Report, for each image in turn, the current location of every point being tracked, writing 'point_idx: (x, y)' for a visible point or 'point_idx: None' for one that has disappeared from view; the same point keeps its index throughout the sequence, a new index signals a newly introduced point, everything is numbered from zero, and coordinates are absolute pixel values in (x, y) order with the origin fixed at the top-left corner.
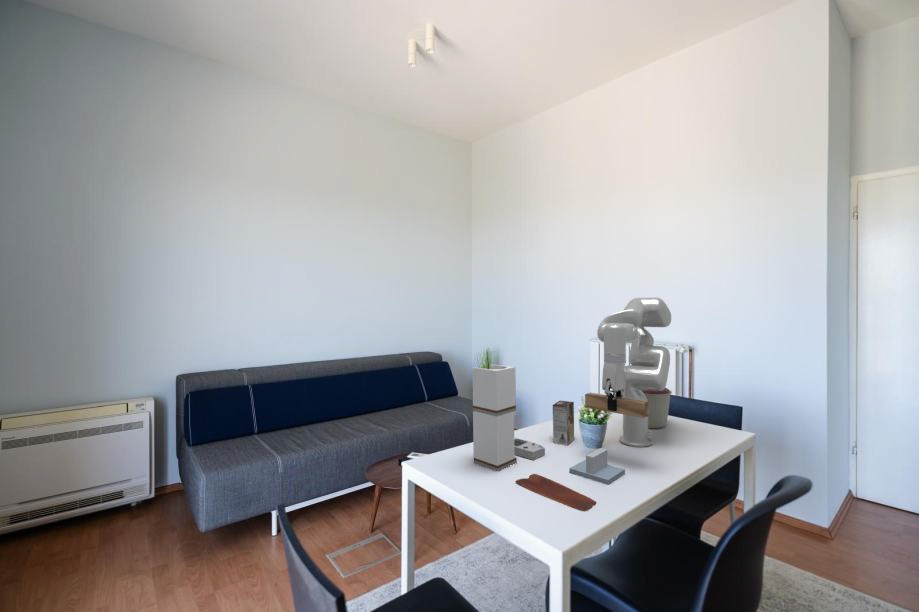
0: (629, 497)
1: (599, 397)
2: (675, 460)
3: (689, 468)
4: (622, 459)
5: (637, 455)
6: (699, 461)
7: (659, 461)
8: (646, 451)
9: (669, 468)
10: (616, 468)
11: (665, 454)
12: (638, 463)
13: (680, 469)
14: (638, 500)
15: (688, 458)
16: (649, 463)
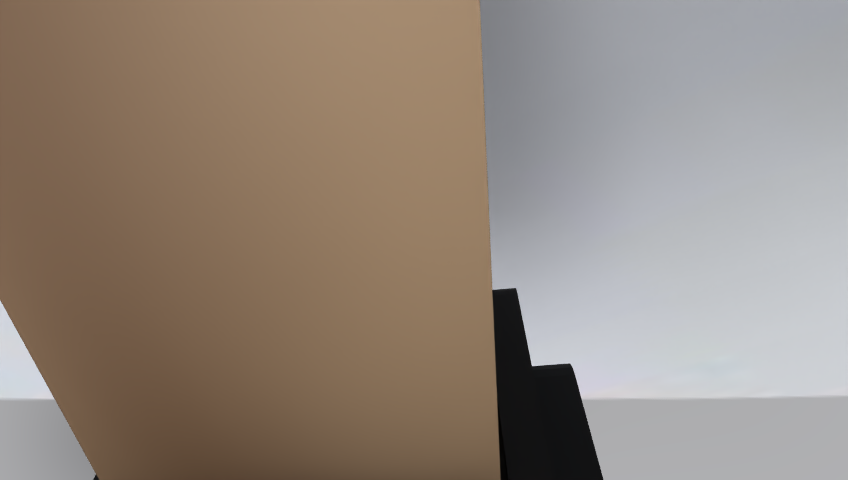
0: (16, 355)
1: (16, 259)
2: (747, 293)
3: (649, 383)
4: (505, 43)
5: (688, 78)
6: (814, 378)
7: (657, 240)
8: (842, 80)
9: (569, 323)
10: None
11: (845, 207)
12: (513, 168)
13: (597, 362)
14: (35, 389)
15: (839, 326)
16: (569, 215)
